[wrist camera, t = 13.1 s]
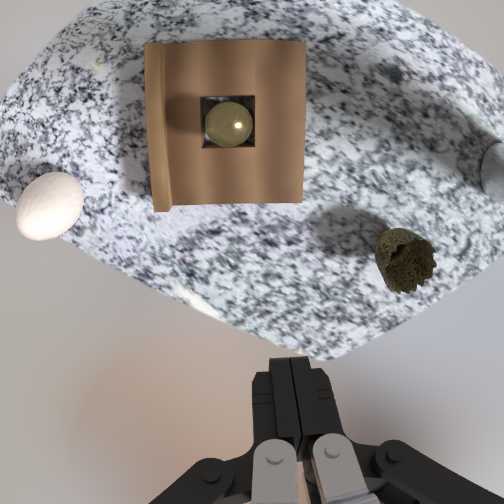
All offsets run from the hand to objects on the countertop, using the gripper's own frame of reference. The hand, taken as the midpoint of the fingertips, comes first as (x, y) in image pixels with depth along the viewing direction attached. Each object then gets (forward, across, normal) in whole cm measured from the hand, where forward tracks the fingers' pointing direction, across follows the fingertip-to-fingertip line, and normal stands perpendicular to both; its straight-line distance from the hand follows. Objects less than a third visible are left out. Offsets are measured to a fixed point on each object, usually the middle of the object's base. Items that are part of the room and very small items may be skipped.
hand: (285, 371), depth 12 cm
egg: (+27, +24, -1) cm, 36 cm away
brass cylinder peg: (+27, +3, -8) cm, 28 cm away
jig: (+27, +3, -8) cm, 28 cm away
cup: (+27, -18, +7) cm, 33 cm away
